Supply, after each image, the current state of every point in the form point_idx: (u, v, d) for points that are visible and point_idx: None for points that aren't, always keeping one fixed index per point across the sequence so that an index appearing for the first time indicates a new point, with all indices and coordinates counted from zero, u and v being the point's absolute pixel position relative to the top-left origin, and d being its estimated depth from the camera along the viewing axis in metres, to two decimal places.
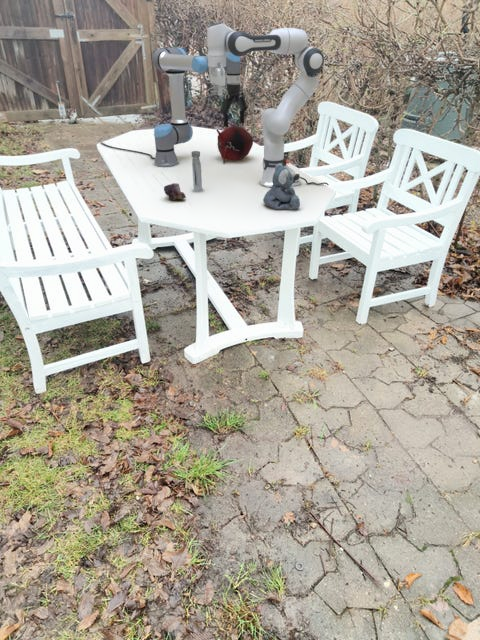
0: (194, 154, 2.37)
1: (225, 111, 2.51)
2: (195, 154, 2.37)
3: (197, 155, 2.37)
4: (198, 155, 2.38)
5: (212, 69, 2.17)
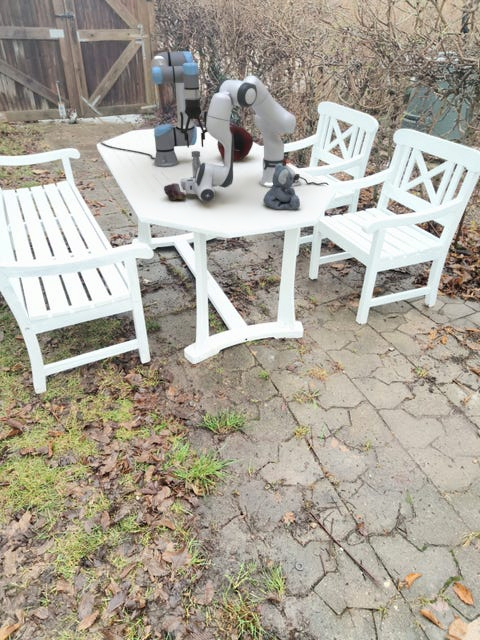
0: (194, 154, 2.37)
1: (202, 129, 2.32)
2: (195, 154, 2.37)
3: (197, 155, 2.37)
4: (198, 155, 2.38)
5: None
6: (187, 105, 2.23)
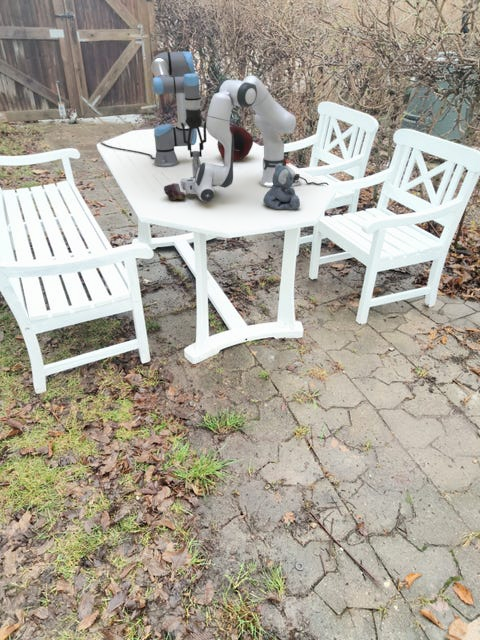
0: (194, 154, 2.37)
1: None
2: (195, 154, 2.37)
3: (197, 155, 2.37)
4: (198, 155, 2.38)
5: None
6: (188, 115, 2.25)
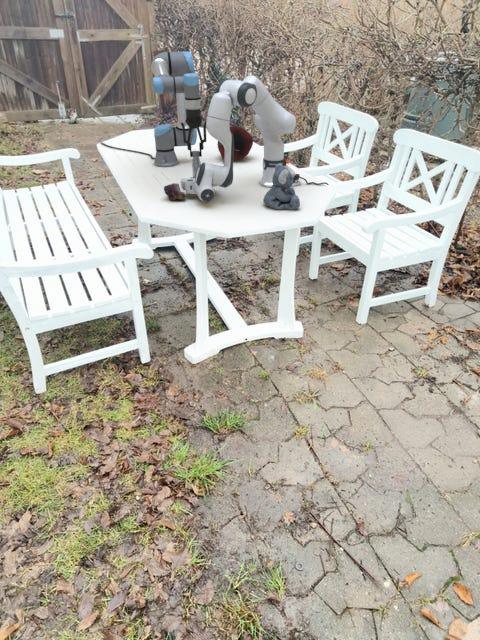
0: (199, 153, 2.38)
1: None
2: (199, 153, 2.39)
3: None
4: None
5: None
6: (188, 115, 2.25)
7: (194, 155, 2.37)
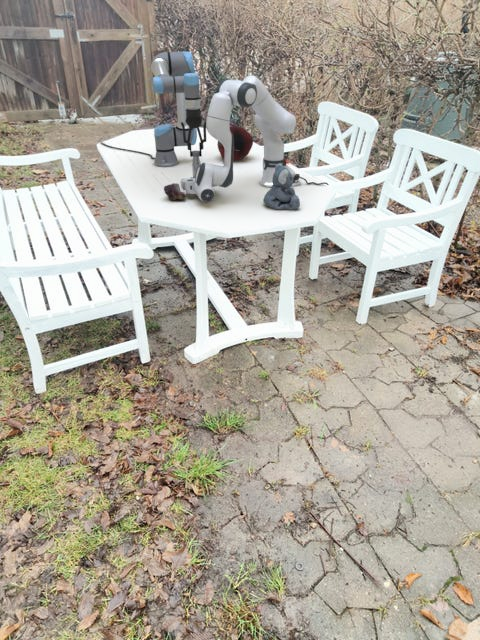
0: None
1: None
2: None
3: None
4: None
5: None
6: (188, 115, 2.25)
7: (199, 154, 2.38)
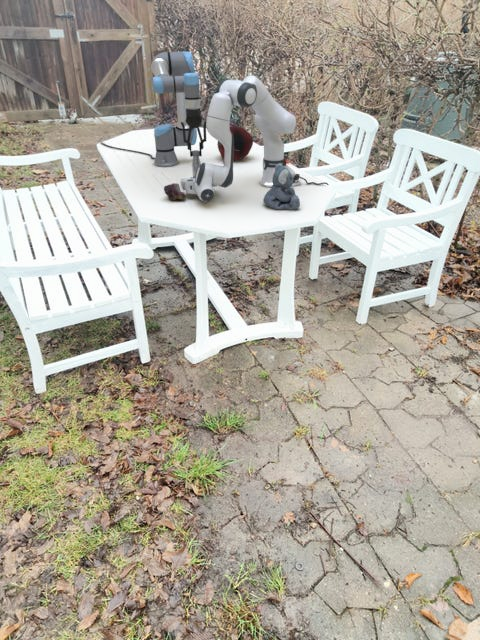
0: None
1: None
2: None
3: (192, 154, 2.38)
4: (193, 155, 2.37)
5: None
6: (188, 114, 2.25)
7: None
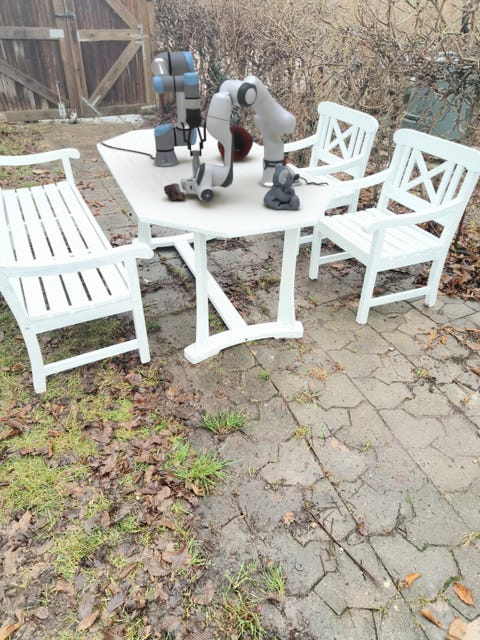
0: (195, 153, 2.37)
1: None
2: (196, 153, 2.37)
3: (197, 154, 2.37)
4: (199, 154, 2.38)
5: None
6: (188, 114, 2.25)
7: None
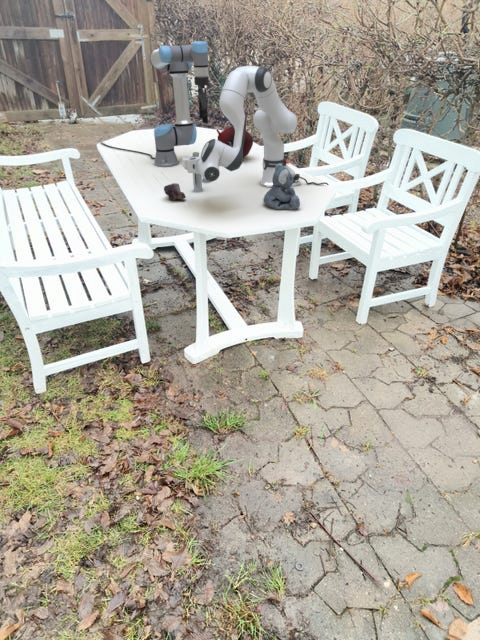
0: None
1: (201, 102, 2.46)
2: None
3: None
4: None
5: None
6: (207, 82, 2.33)
7: (206, 180, 2.61)
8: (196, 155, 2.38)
